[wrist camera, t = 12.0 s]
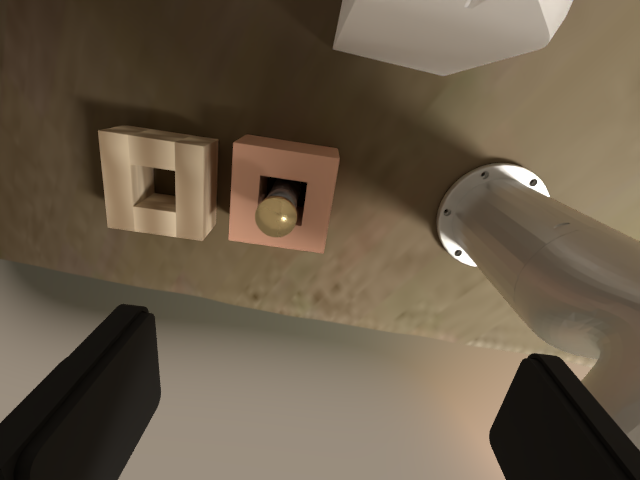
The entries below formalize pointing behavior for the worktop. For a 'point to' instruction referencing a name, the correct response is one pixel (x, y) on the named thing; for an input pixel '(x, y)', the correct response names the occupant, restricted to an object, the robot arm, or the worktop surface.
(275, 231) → the pin
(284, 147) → the dock
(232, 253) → the worktop surface
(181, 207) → the mount
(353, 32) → the milk
